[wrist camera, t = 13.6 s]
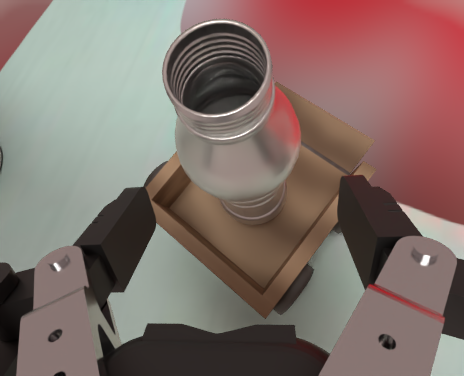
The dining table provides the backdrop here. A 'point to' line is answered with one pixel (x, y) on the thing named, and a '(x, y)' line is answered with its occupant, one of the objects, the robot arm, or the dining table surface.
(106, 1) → the dining table surface
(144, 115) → the dining table surface
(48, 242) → the dining table surface
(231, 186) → the grey ridged cylindrical piece
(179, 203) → the tray
